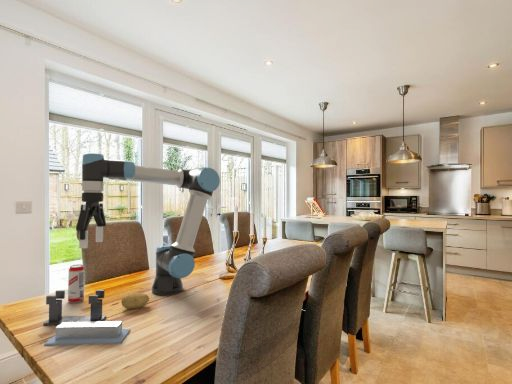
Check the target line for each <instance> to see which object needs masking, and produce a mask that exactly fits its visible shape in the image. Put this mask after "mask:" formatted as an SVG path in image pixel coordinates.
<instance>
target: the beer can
mask: <svg viewBox="0 0 512 384" xmlns="http://www.w3.org/2000/svg"><path fill="white" fill-rule="evenodd" d="M67 278H68V282H67V283H68V284H67V286H68V290H67V302H69V303H70V304H76V303H80V302H82V301H83V300H84V299H85V267H84V264H72V265H70V266H69V269H68V277H67Z"/></svg>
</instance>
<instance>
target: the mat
mask: <svg viewBox="0 0 512 384" xmlns="http://www.w3.org/2000/svg"><path fill="white" fill-rule="evenodd" d="M130 332H131V329H130V328H124V329H123V328H122V333H121V334H120V336H119V337H118V338H97V339H57V340H55V334H54V335H53V336H52V337H50V338H49V339H48V340H47V341H46V342H44V344H43V346H75V345H76V346H77V345H82V346H83V345H109V344H111V345H112V344H115V345H116V344H122V343H123V341H124V340H125V339H126V337H127V336H128V335H129V333H130Z"/></svg>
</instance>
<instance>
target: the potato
mask: <svg viewBox="0 0 512 384" xmlns="http://www.w3.org/2000/svg"><path fill="white" fill-rule="evenodd" d="M149 301H150V297H149V295H148V294H147V293H140V292H131V293H126V294H124V295H123V297H122V298H121V300H120V303H121V305H122V307H124V309H131V310H132V309H139V308H143V307H146V305H147V304H148V303H149Z"/></svg>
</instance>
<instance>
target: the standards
mask: <svg viewBox="0 0 512 384" xmlns="http://www.w3.org/2000/svg"><path fill="white" fill-rule="evenodd" d="M65 295H66V290H62V289H59V290H55V295H46V297H45V298H46V299H45V300H46V301H45V304H46V305H48V319H47V320H45V321H44V322H43V324H42V325H43V326H44V327H47V326H49V327H51V326H55V327H57V326H58V325H60V324H61V323H62V322H99V321H106V319H107V315H103V299H104V298H105V289H96V290H95V294H90V295H88V305H90V315H66V316H65V315H63V299H65V298H66V297H65Z"/></svg>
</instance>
